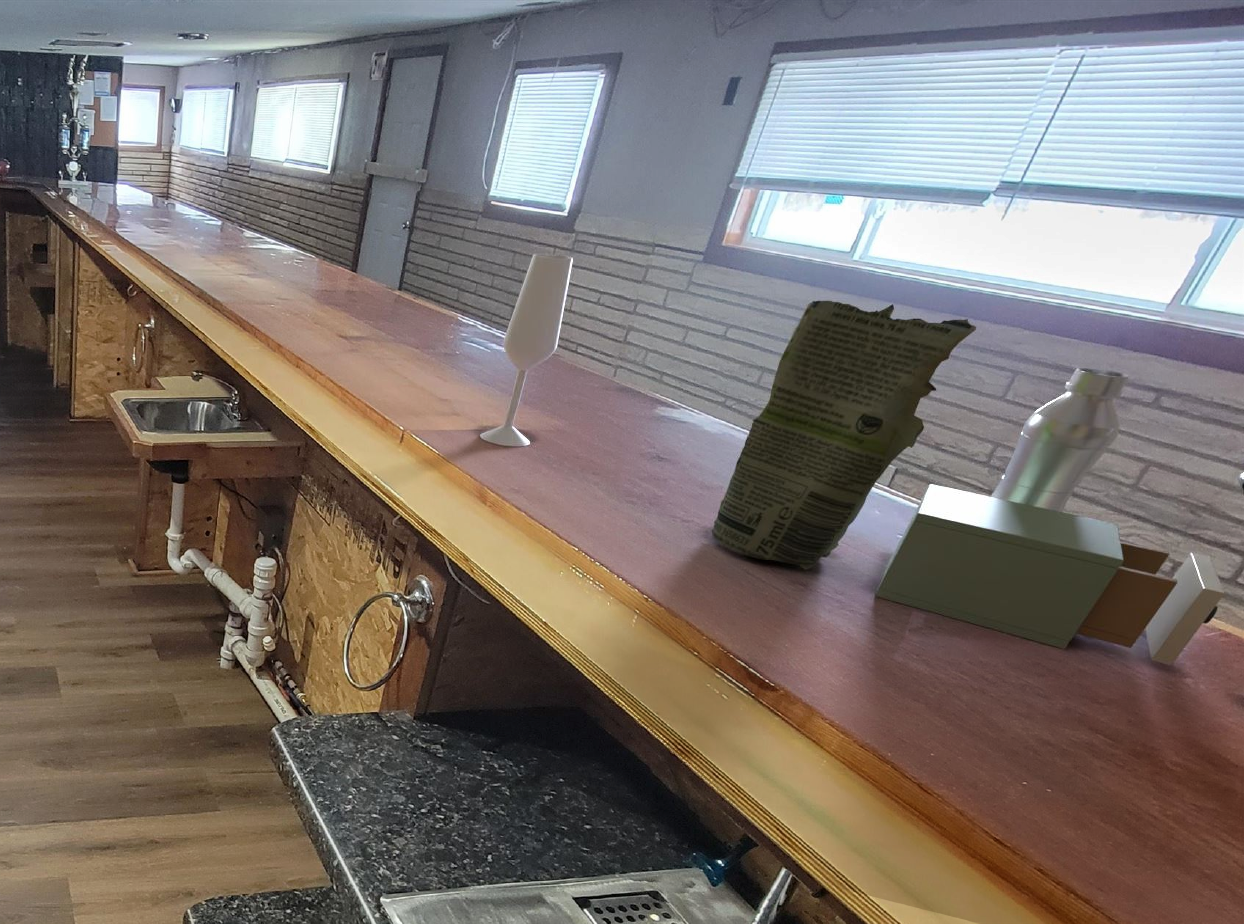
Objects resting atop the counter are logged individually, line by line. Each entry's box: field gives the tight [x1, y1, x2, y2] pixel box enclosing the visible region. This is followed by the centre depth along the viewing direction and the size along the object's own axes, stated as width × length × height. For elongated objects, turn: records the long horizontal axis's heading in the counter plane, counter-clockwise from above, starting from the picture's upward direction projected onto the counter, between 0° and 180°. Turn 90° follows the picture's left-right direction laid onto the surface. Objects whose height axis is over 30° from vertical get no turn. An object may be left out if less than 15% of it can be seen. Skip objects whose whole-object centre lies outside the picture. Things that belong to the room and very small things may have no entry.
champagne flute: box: [479, 253, 574, 447], centre depth 120 cm, size 7×7×24 cm
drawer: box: [1075, 540, 1225, 666], centre depth 79 cm, size 14×10×7 cm
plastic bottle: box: [989, 367, 1130, 512], centre depth 88 cm, size 6×7×20 cm
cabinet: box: [874, 483, 1124, 650], centre depth 83 cm, size 14×12×9 cm
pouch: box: [710, 300, 977, 571], centre depth 87 cm, size 11×12×25 cm
